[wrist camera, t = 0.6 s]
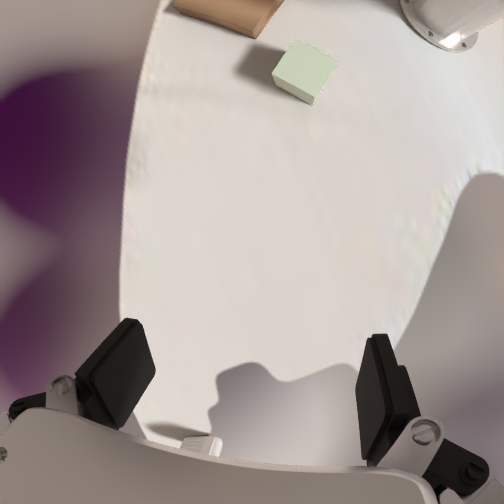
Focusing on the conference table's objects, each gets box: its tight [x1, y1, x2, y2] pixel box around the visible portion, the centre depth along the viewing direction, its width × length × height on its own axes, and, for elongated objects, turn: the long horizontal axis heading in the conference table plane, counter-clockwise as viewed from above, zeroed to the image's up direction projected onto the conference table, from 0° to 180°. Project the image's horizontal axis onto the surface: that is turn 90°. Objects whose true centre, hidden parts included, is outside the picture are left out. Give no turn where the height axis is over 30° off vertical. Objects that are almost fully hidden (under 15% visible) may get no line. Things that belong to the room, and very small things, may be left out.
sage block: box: [272, 38, 338, 105], centre depth 27 cm, size 5×5×6 cm
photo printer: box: [180, 436, 223, 457], centre depth 51 cm, size 10×4×12 cm, turn 117°
